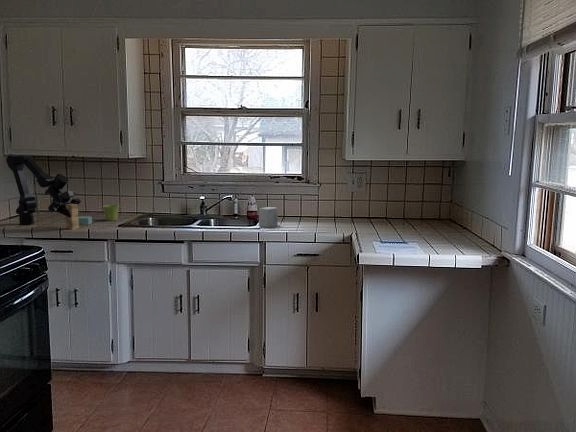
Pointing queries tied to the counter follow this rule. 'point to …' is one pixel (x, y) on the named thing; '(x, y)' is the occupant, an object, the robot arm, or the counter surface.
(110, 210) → the plant pot
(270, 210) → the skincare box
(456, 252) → the counter surface
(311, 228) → the counter surface
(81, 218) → the base block
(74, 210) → the oak pillar
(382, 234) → the counter surface
